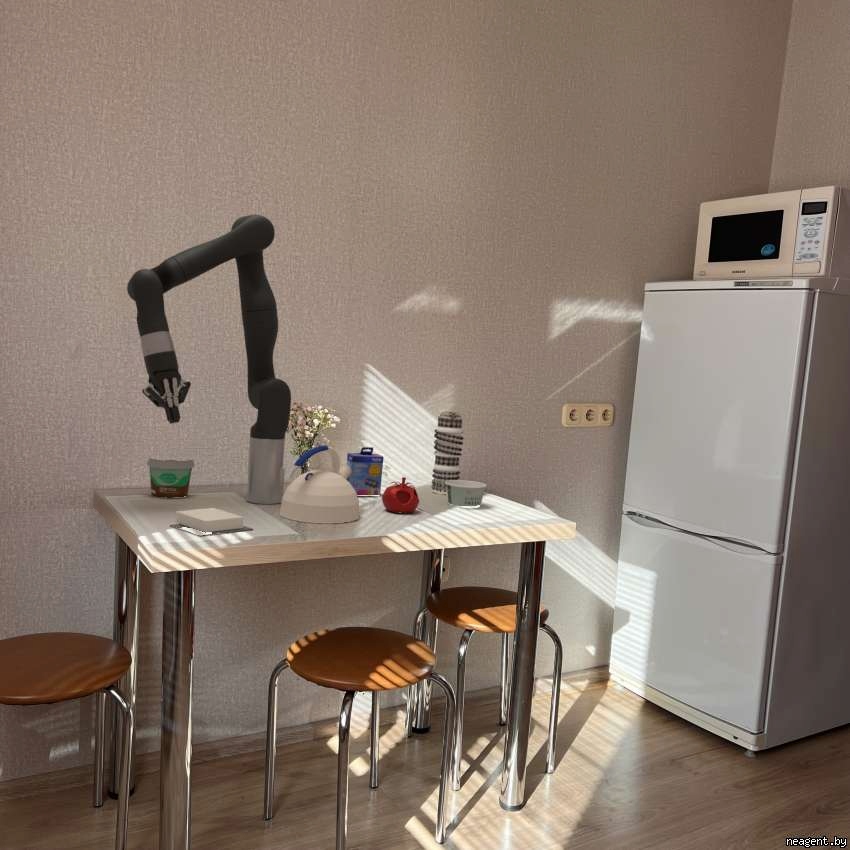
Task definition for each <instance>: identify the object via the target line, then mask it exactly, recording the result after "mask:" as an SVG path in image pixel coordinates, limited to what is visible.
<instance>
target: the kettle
mask: <svg viewBox="0 0 850 850" xmlns="http://www.w3.org/2000/svg"><path fill="white" fill-rule="evenodd" d="M325 451H327V452H328V453H329V456H330V458H331V468H330V470H325V469H314V470H310V471H307V472H303V473H302V474H301V475H299V476H297V477H296V478H294V479H293V480H292V482H290V484H288V486H287V487H286V489H285V491H284V492H283V497H282V503H280V508H279V509H280V510H279V514H280V516H281V517H283V518H284V519H288V520H290V521H294V522H301V523H307V524H318V523H321V524H322V525H323V524H324V525H326V524H327V525H328V524H329V525H334V524H333V523H339V524H345V523H344V522H349V523H352V522H351V521H353V522H355V521H354V520H356V521H358V520H359V519H360V518H359V516H360V500H359V497H357V494H356V491H355V490H354V488H353V487H352V485H351V484H350V483H349V482H348V481H347V480H346V479H347V477H348V476H349V474H351V472H352V471H351V468H350V467H349V466H347V464H344V463H343V464H341V459H340V455H339V453H338V452H337V450H336V449H335V448H334V447H332V446H330V445H329V446H328V445H326V444H324V445H320V446H316V447H314V448H311V449H310V450H307V451H305V452H304V453H303V454H302V455H301V456H299V458H297V460H296V461H295V462H294V463H293V465H294V466H296V467H299V468H300V467H303V465H304V464H305V463H306V461H307V460H309V459H310V458H311V457H312V456H314V455H316V454H317V453H320V452H325ZM358 518H359V519H358ZM357 519H358V520H357ZM321 524H320V525H321Z"/></svg>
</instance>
